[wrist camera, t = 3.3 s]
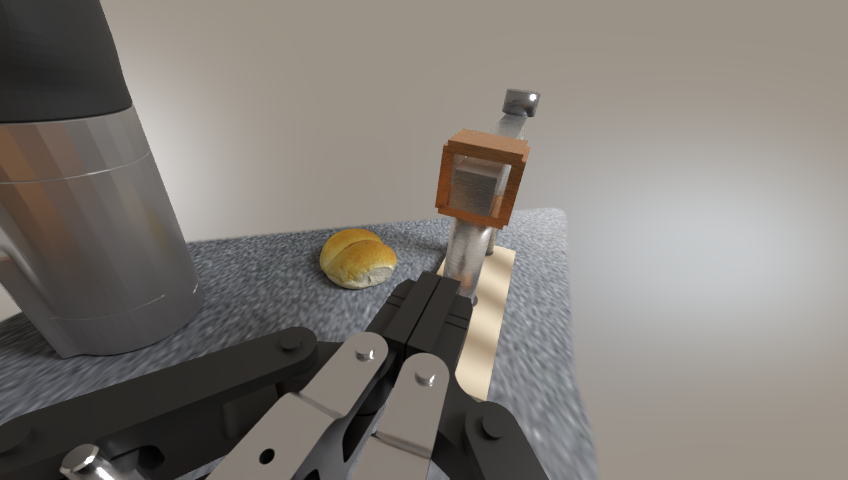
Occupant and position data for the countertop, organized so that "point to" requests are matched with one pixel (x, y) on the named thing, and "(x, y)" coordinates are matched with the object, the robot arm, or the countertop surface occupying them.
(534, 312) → the countertop surface
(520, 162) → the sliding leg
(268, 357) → the robot arm
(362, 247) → the bread roll
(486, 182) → the metal gantry frame
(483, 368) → the plate
